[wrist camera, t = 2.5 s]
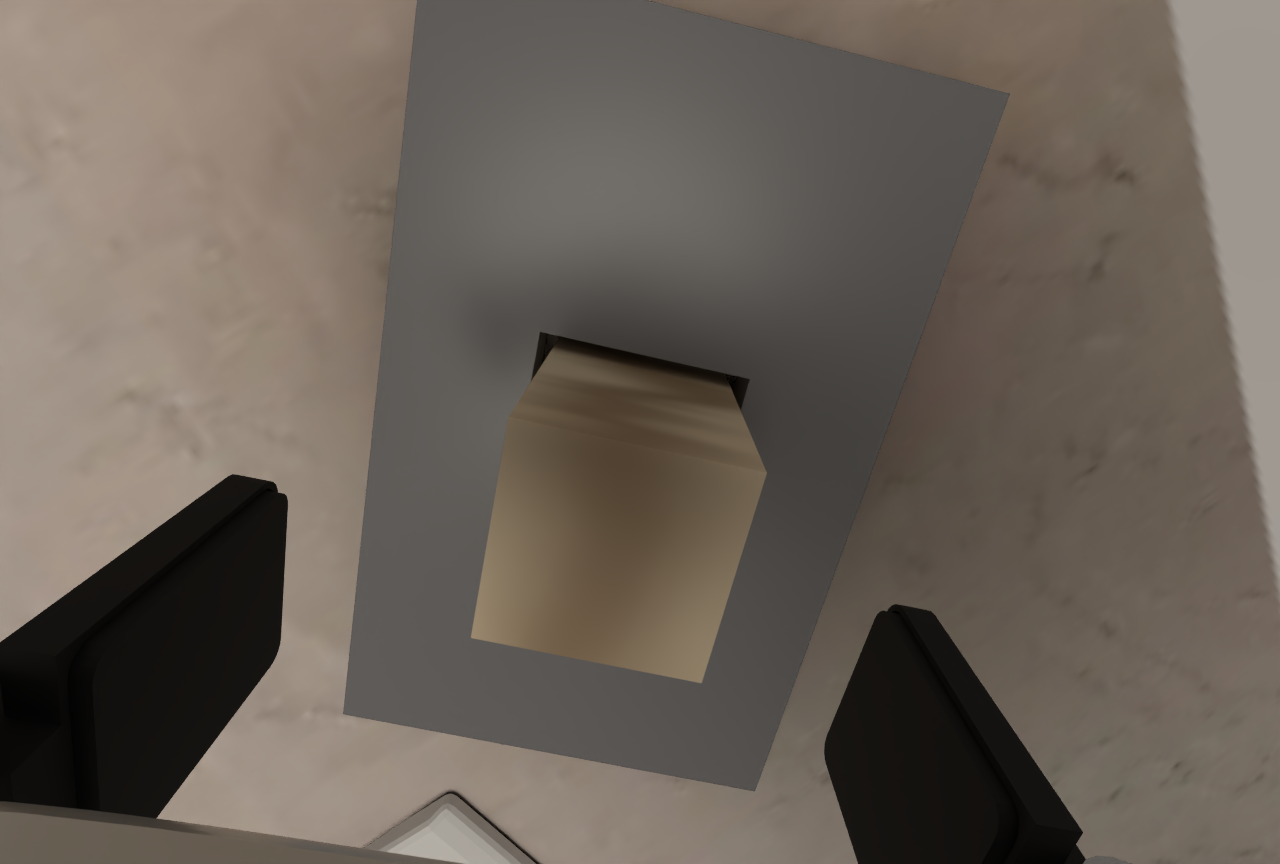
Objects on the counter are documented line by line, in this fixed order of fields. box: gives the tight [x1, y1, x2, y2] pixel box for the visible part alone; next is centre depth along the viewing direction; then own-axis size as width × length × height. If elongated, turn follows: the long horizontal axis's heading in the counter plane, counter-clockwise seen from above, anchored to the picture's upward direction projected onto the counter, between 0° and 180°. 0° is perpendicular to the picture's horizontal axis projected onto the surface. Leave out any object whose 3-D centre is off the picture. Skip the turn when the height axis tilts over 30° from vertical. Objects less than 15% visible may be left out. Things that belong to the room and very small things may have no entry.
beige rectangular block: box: [471, 336, 767, 683], centre depth 17 cm, size 5×5×8 cm
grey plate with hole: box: [343, 0, 1010, 791], centre depth 20 cm, size 14×22×2 cm, turn 167°
